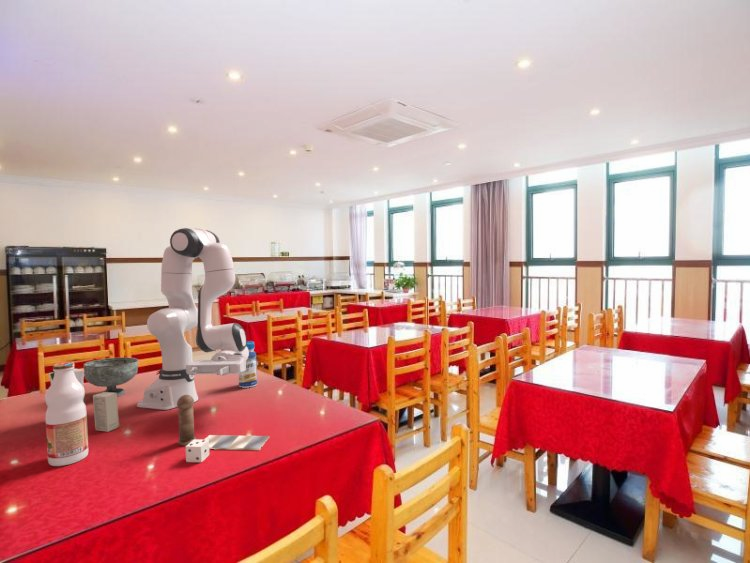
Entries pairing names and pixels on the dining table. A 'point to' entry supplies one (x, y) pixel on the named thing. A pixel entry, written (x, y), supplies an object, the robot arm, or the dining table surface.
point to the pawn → (186, 420)
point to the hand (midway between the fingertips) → (205, 372)
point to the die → (197, 450)
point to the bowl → (111, 372)
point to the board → (236, 442)
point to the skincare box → (106, 411)
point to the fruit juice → (66, 417)
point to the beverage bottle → (249, 369)
